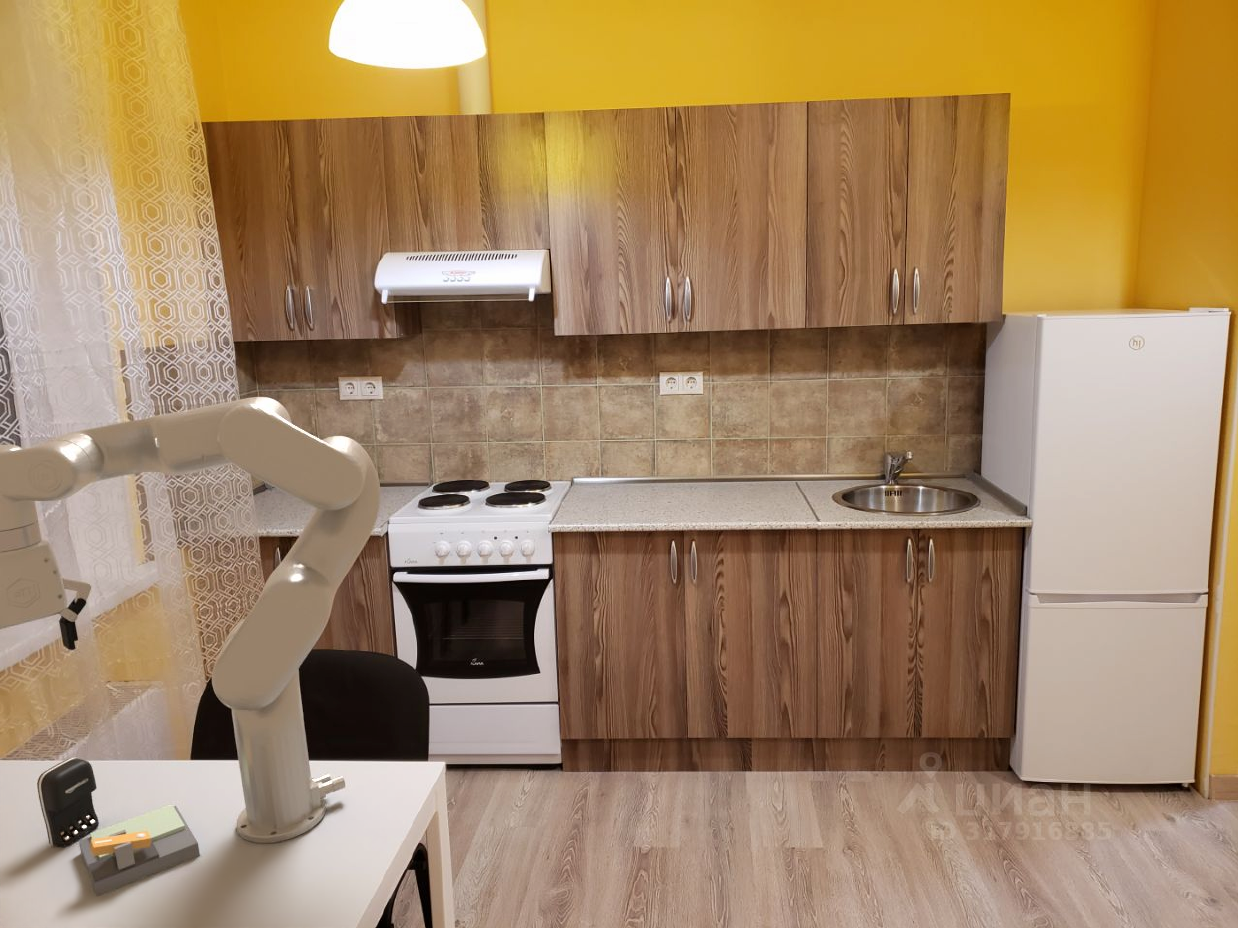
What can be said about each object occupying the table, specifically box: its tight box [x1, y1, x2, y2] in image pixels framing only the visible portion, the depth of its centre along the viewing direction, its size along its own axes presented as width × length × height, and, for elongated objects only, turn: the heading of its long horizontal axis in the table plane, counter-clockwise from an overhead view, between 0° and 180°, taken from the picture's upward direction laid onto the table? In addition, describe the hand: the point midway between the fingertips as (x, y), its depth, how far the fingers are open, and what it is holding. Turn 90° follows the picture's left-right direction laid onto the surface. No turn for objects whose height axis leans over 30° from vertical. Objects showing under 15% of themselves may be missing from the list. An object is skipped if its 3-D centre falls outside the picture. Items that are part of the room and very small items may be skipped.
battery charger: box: [36, 757, 100, 848], centre depth 137 cm, size 7×4×11 cm, turn 157°
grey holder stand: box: [78, 803, 201, 897], centre depth 132 cm, size 13×12×6 cm
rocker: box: [90, 831, 151, 856], centre depth 127 cm, size 7×2×1 cm, turn 128°
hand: (30, 658), depth 127 cm, fingers open, 9 cm apart
